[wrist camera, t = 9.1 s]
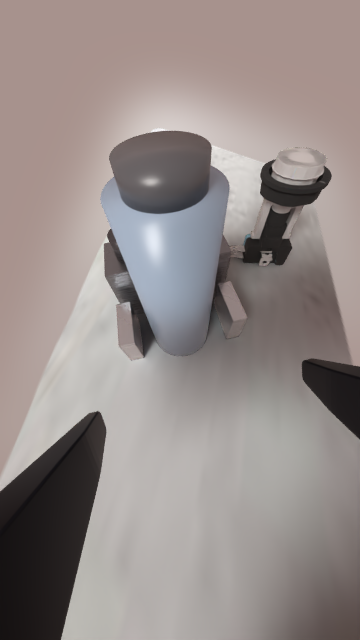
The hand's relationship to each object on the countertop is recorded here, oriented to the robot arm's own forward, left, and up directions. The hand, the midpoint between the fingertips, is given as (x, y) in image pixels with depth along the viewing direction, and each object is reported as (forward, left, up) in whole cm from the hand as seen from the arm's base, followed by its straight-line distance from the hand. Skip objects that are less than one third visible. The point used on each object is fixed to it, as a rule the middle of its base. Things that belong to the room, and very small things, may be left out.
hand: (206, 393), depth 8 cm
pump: (+7, 0, -8) cm, 11 cm away
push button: (+15, -11, -8) cm, 20 cm away
